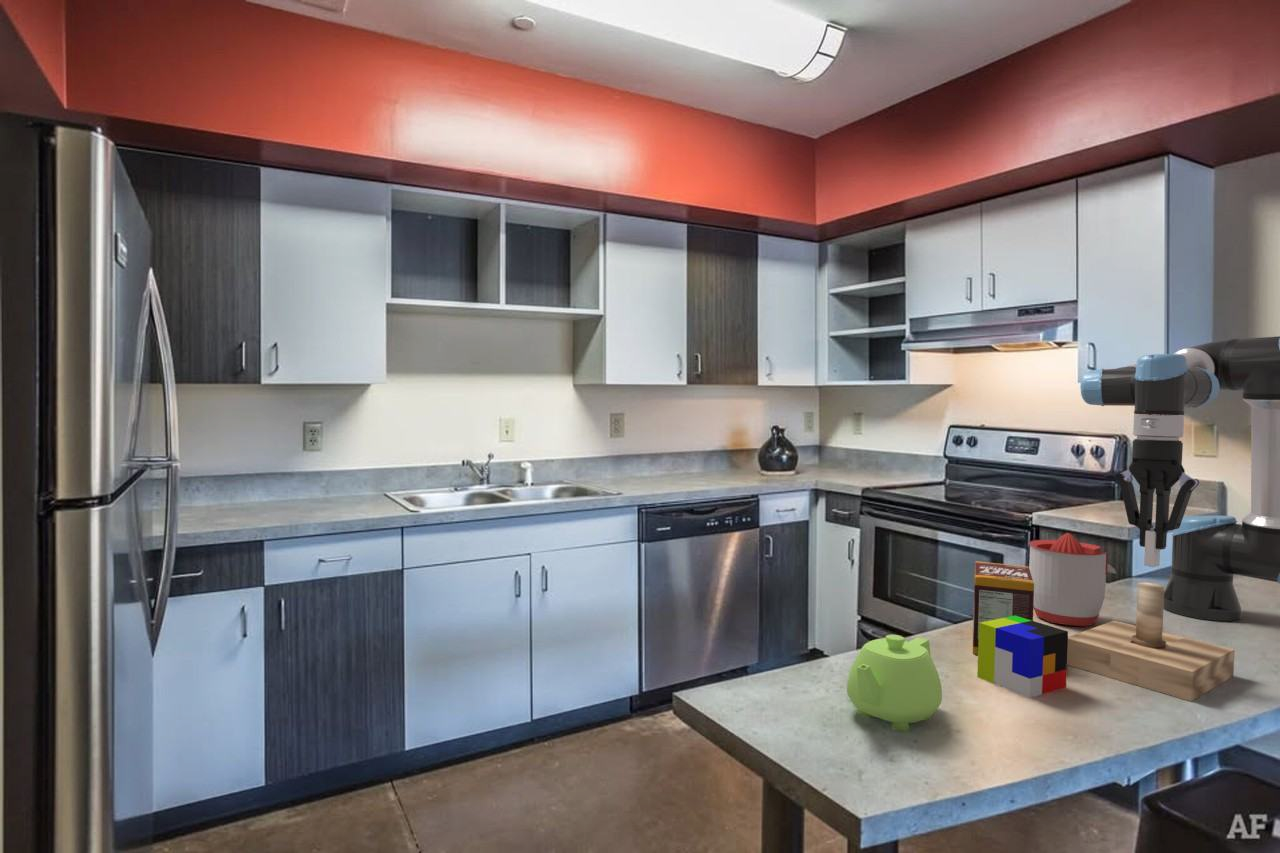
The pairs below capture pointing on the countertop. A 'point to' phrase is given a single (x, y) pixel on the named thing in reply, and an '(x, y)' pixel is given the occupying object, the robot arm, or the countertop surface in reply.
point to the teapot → (895, 681)
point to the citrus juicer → (1068, 580)
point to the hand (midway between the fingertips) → (1151, 565)
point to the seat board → (1152, 660)
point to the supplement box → (1001, 594)
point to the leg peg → (1149, 616)
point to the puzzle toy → (1022, 655)
